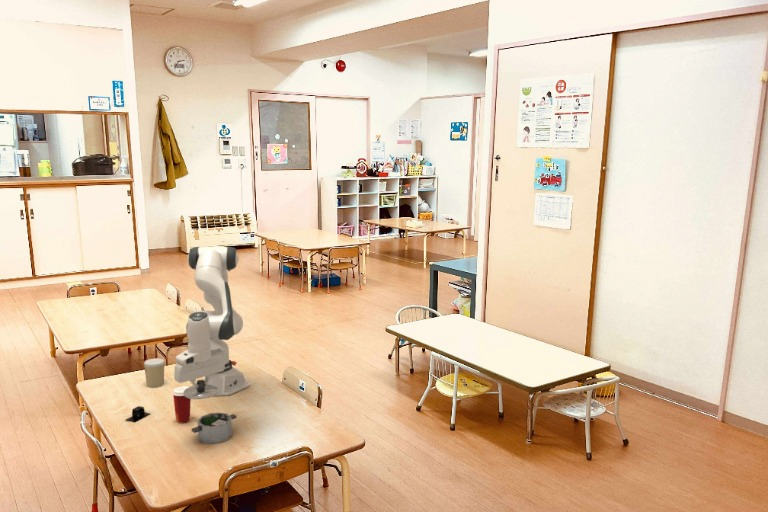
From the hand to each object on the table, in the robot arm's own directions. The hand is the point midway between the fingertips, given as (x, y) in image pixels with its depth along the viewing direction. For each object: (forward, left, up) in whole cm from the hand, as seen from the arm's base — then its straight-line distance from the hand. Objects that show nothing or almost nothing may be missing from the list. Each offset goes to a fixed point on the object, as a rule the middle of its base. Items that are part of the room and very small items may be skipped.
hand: (200, 387), depth 234 cm
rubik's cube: (-6, +3, -21) cm, 22 cm away
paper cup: (-2, -19, -21) cm, 28 cm away
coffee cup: (-12, -64, -21) cm, 68 cm away
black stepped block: (+10, -35, -22) cm, 42 cm away
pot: (-4, +3, -21) cm, 22 cm away
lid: (0, 0, -2) cm, 2 cm away
